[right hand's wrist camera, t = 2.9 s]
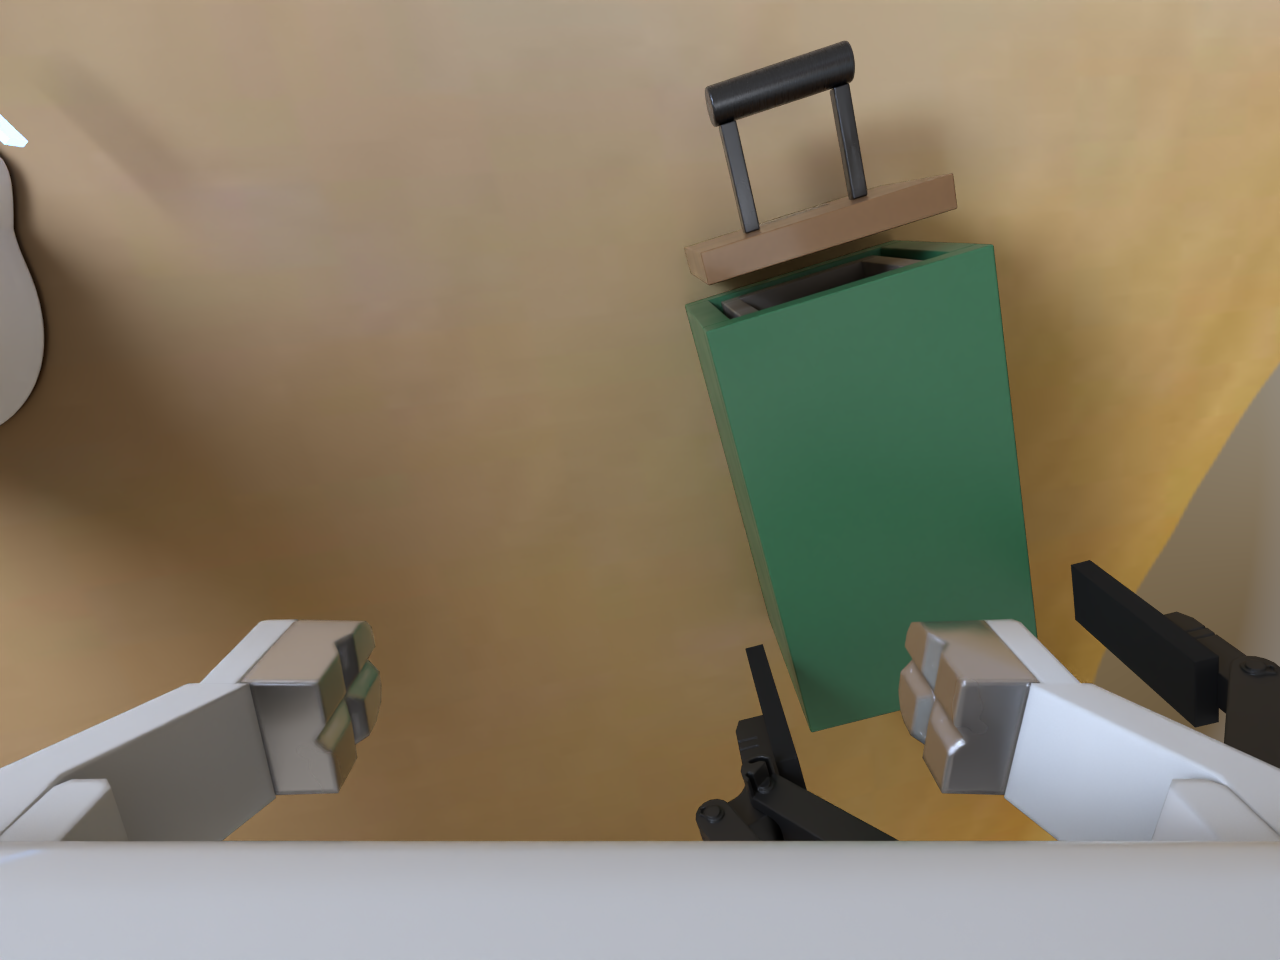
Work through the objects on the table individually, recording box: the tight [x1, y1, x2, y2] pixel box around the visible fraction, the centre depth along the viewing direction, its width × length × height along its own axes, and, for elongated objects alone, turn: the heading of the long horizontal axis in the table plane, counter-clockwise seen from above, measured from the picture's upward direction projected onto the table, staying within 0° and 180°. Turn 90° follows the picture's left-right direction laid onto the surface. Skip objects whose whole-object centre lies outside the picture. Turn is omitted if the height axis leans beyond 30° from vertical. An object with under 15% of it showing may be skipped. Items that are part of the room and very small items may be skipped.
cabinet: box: [685, 240, 1037, 732], centre depth 32 cm, size 19×10×9 cm, turn 17°
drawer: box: [684, 41, 957, 319], centre depth 30 cm, size 23×9×7 cm, turn 17°
